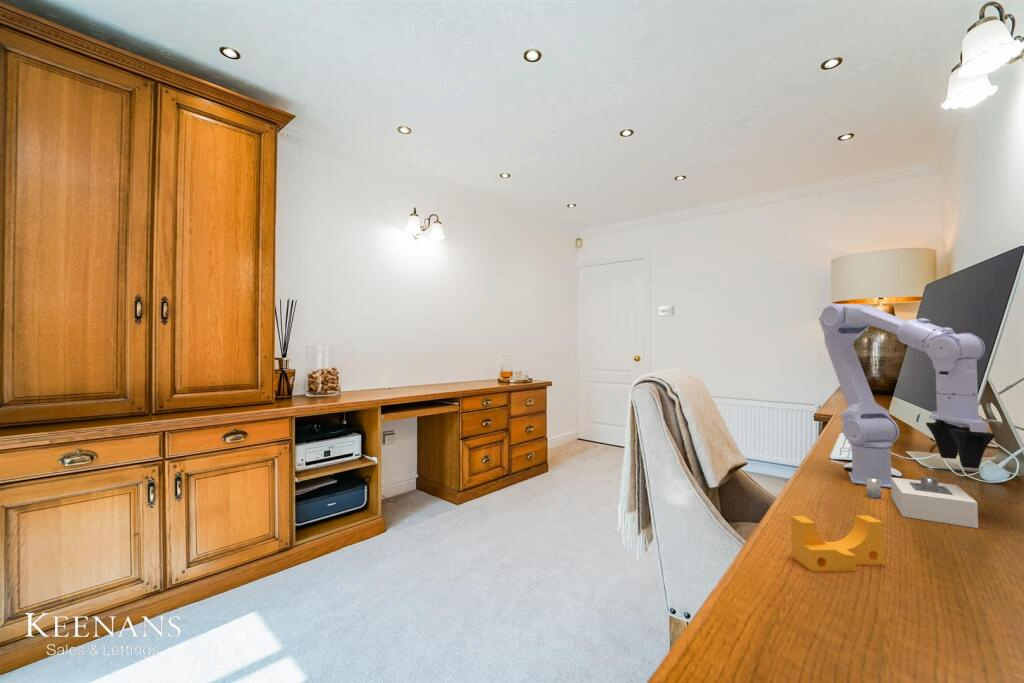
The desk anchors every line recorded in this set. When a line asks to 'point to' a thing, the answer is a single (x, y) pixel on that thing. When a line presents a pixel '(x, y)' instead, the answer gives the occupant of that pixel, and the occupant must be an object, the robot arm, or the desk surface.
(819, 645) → the desk surface
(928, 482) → the long pin
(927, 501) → the pin block
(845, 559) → the pipe clamp
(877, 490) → the short pin
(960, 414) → the robot arm
